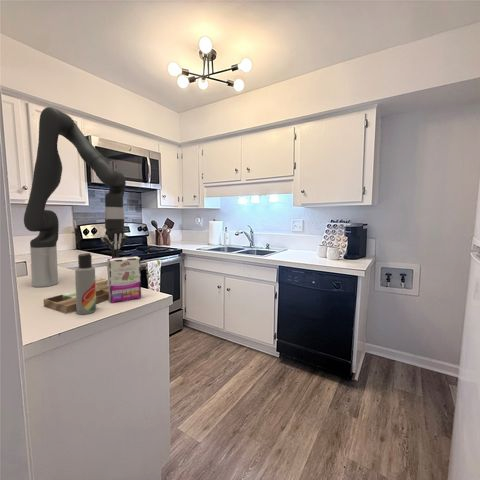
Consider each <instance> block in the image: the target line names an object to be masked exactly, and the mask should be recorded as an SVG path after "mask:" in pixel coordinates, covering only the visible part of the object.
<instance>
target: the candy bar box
mask: <svg viewBox="0 0 480 480" xmlns="http://www.w3.org/2000/svg"><path fill="white" fill-rule="evenodd" d="M141 278H142V277H141V257H139V256H123V257H118V258H113V257H112V258H107V280H108V290H109V300H108V301H109V303H111V304H114V303H115V304H116V303H121V302H126V301H131V300H132V301H133V300H138V299H141V298H142V285H141V284H142V282H141V280H142V279H141Z"/></svg>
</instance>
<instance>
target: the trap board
mask: <svg viewBox="0 0 480 480" xmlns="http://www.w3.org/2000/svg"><path fill="white" fill-rule="evenodd" d="M105 301H109V290H108V287H106V288H102V289H99V290H96V305H97V304H100V303H103V302H105ZM43 307H45V308H48V309H50V310H51V309H52V310H55V311H58V312H61V313H64V314H69V313H70V314H71V313H73V312H75V311H76V312H77V309H76V290H73V291H70V292H67V293H63V294H59V295H54V296H51V297H48V298H44V299H43Z"/></svg>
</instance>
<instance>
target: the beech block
mask: <svg viewBox="0 0 480 480" xmlns="http://www.w3.org/2000/svg"><path fill="white" fill-rule="evenodd" d="M95 287H96V290H99V289H102V288H106V287H108V279H105V278H104V279H103V278H100V277H99V278H95Z"/></svg>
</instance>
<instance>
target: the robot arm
mask: <svg viewBox="0 0 480 480" xmlns="http://www.w3.org/2000/svg"><path fill="white" fill-rule="evenodd" d="M38 120H39V121H38V122H39V124H38V144H37V150H36V151H37V152H36V159H35V164H34V170H33V177H32V183H31V189H30V193H29V197H28V201H27V204H26V208H25V211H24V215H23V224H24V228H25V229H26V230H27V231H30V232H34V233H35V232H38V233H39V234H38V235H37V236H35V237H34V238H33V239H31V240H30V242H29V244H30V247H29V249H30V270H31V271H30V272H31V275H30V276H31V285H32V287H34V288H35V287H36V288H44V287H45V288H46V287H52V286H55V285H57V284H59V276H58V275H59V271H58V253H57V251H58V248H57V247H58V246H57V243H58V240H59V231H60V230H59V228H60V225H59V224H60V223H59V217H58V215H57V214H56V212H55V211H52V210H49V209H45V208H46V205H47V202H48V200H49V199H50V197H51V195H52V194H53V193H54V192H55V191H56V190H57V189H58V187H59V185H60V184H61V180H62V174H63V164H62V160H61V157H60V154H59V149H58V142H59V136H61V137H63V138H65V139H66V140H67V141H69V142H70V143H71V144H72V145H73V147H75V149H76V151H77V154H79V156H80V158H81V159H82V161H84V162H85V164H86V165H87V166H88V167H90V168H91V170H93V171H94V174H95V175H96V176H97V178H98V180H100V181H101V183H103V185H105V186H107V187H109V189H108V192H107V193H106V194H105V195H104V229H105V232H104V235H103V236H101V237H100V238H99V239H100V241H101V242H102V243H103V244H104V246H105V247H106V248H107V249H110V250H111V257H112V258H120V249H121V248H123V247H124V246H125V245H126V242H127V241H128V239H129V237H130V236H129V235H127V234H125V231H124V229H125V210H124V196H125V190H126V186H127V185H126V177H125V176H124V174H123V173H122V172H120V171H117V170H115V169H114V168H112V167H111V166H110V165H109V161H108V159H106V157H105V156H104V155H103V154H102V153H101V152H100V151H99V150H98V149H97V148H96V147H95V146H94V145H93V144H92V143H91V142H90V141H89V140H88V138H87V137H86V136H85V135H84V133H83V132H82V131H81V129H80V127H79V126H78V125H77V123H76V122H75V121H74V120H73V118H72V117H71V116H70V115H69V114H67V113H65V112H63V111H61V110H59V109H57V108H54V107H53V106H52V107H51V106H48V107H45V108H43V109H42V111H41V113H40V115H39V119H38Z"/></svg>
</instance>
